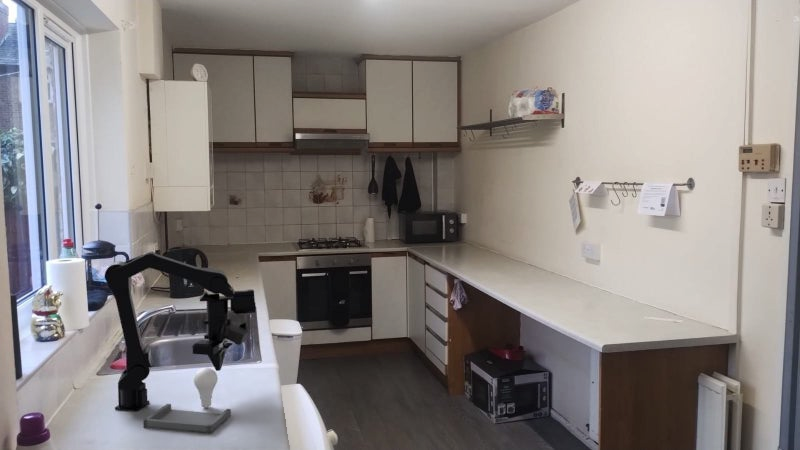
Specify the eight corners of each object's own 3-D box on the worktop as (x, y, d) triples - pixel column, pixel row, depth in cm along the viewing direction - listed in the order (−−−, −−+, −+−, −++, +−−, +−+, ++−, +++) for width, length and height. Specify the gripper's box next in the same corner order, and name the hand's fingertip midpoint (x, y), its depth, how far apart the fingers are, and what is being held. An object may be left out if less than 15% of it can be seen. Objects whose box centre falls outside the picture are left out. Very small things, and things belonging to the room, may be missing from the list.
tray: (143, 427, 155) (143, 420, 155) (167, 410, 166) (167, 403, 165) (210, 433, 152) (210, 426, 151) (230, 416, 162) (230, 408, 162)
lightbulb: (220, 403, 171) (219, 364, 170) (214, 412, 165) (214, 372, 164) (198, 403, 171) (197, 364, 170) (191, 412, 165) (190, 372, 164)
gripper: (229, 325, 162) (230, 383, 164) (258, 309, 181) (258, 362, 182) (190, 323, 164) (191, 380, 166) (222, 307, 183) (223, 359, 184)
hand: (218, 370), depth 174 cm, fingers closed
